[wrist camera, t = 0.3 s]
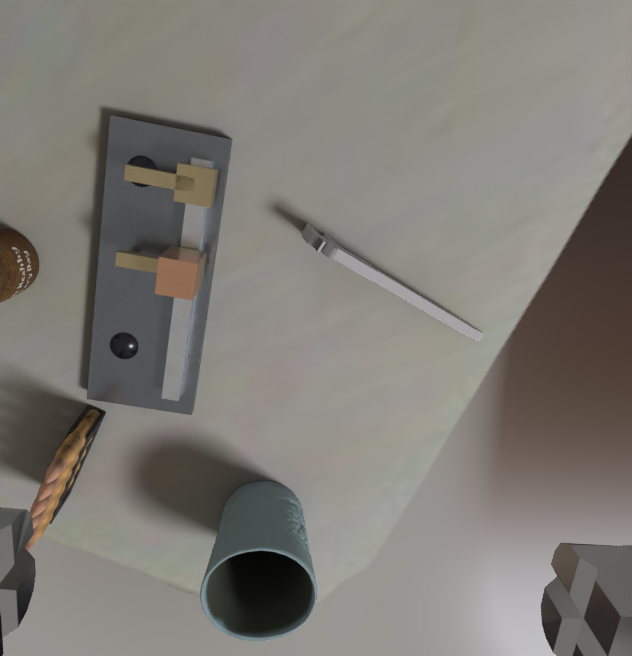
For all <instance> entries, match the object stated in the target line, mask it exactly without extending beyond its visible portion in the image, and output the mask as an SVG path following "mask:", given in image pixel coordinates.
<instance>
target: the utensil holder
mask: <svg viewBox="0 0 632 656" xmlns="http://www.w3.org/2000/svg"><path fill="white" fill-rule="evenodd" d="M38 271H39V259H38V255H37V252H36V250H35V248H34V247H33V245H32V244H31V243H30V242H29V241H28V240H27V239H26V238H25V237H24V236H22V235H20V234H19V233H17V232H14V231H11V230H6V229H0V302H3V301H5V300H7V299H9V298H11V297H13V296H15V295H17V294H18V293H20V292H22V291H23V290H25V289H26V288H28V287H29V286H30V285H31V284H32V283H33V282H34V280H35V278H36V277H37V274H38Z"/></svg>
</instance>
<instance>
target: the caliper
mask: <svg viewBox="0 0 632 656" xmlns="http://www.w3.org/2000/svg"><path fill="white" fill-rule="evenodd" d="M302 237H303V239H304V240H305V241H306V242H307V243H308V244H309V245H311V246H312V247H314V248H315V249H316V251H317V252H320V251H321V252H322V253H323V254H324V255H326V256H327V257H328V258H329V259H330V258H333V259H334V260H336V261H338V262H339V263H341V264H343V265H345V266H346V267H348V268H350V269H351V270H353V271H355V272H357V273H358V274H360V275H362V276H363V277H365V278H367V279H369V280H370V281H372V282H375V283H377V284H378V285H380V286H382V287H383V288H385V289H387V290H389V291H390V292H392V293H394V294H395V295H397V296H399V297H401V298H402V299H404V300H406V301H407V302H409V303H411V304H412V305H414V306H416V307H418V308H419V309H421V310H423V311H424V312H426V313H428V314H429V315H431V316H433V317H435V318H436V319H438V320H440V321H441V322H443V323H445V324H447V325H448V326H450V327H452V328H453V329H455V330H457V331H459V332H460V333H462V334H464V335H465V336H467V337H469V338H470V339H473V340H475V341H477V342H479V340H480V339H481V338H482V336H483V335H484V333H482V332H481V331H479V330H477V329H476V328H474V327H473V326H471V325H470V324H468V323H466V322H465V321H463V320H462V319H460V318H458V317H457V316H455V315H453V314H452V313H450V312H448V311H447V310H445V309H443V308H442V307H440V306H438V305H437V304H435V303H433V302H432V301H430V300H428V299H426V298H425V297H423V296H421V295H420V294H418V293H416V292H415V291H413V290H411V289H410V288H408V287H406V286H405V285H403V284H401V283H400V282H398V281H396V280H395V279H393V278H391V277H390V276H388V275H386V274H385V273H383V272H381V271H380V270H378V269H376V268H375V267H373V266H372V265H371V264H370V263H368V262H366V261H365V260H363V259H361V258H360V257H358V256H356V255H355V254H353V253H351V252H349V251H347V250H345V249H344V248H342V247H341V246H340V245H339V244H337V243H336V242H335V241H334V240H333V239H331V238H330V237H329V236H328V235H326V234H324V233H323V234H322V236H321V235H320V234H319V233H318V232H317V231H316V230H315V229H314V228H313V227H312V225H310V224H308V223H307V224H306V226H305V228H304V229H303V231H302Z"/></svg>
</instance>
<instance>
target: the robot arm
mask: <svg viewBox="0 0 632 656" xmlns="http://www.w3.org/2000/svg"><path fill="white" fill-rule="evenodd" d="M33 534H34V531H33V521H32V515H31V514H30V513H29V511H28V510H25V509H13V508H1V507H0V656H2V655H3V639H2V638H3V637H4V636H6V635H7V634H9V633H10V632H12V631H13V630H15V629H16V628H17V627H19V625H20V623H21V621H22V619H23V617H24V615H25V614H26V612H27V609H28V606H29V603H30V600H31V597H32V593H33V590H34V582H35V573H36V572H35V559H34V558H33V556H32V555H31V554H30V553H29V552H28V550H27V549H26V548H25V547H26V545H27V544H28V542H29V541H30V539H31V538H32V536H33ZM551 565H552V567H553V569H554V571H555V573H556V574H557V577H556V578H555V579H554V580H553V581H552V582H550V583H549V584H548V585H547V586H546V587H545V589H544V593H543V598H542V603H541V616H542V626H543V629H544V633H545V636H546V639H547V641H548V643H549V645H550V647H551V649H552V651H553V653H554V654H556V655H557V656H632V545H622V546H611V545H592V544H572V543H560V544H559V546H558V547H557V549H556V550H555V552H554V556H553V559H552V563H551Z"/></svg>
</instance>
